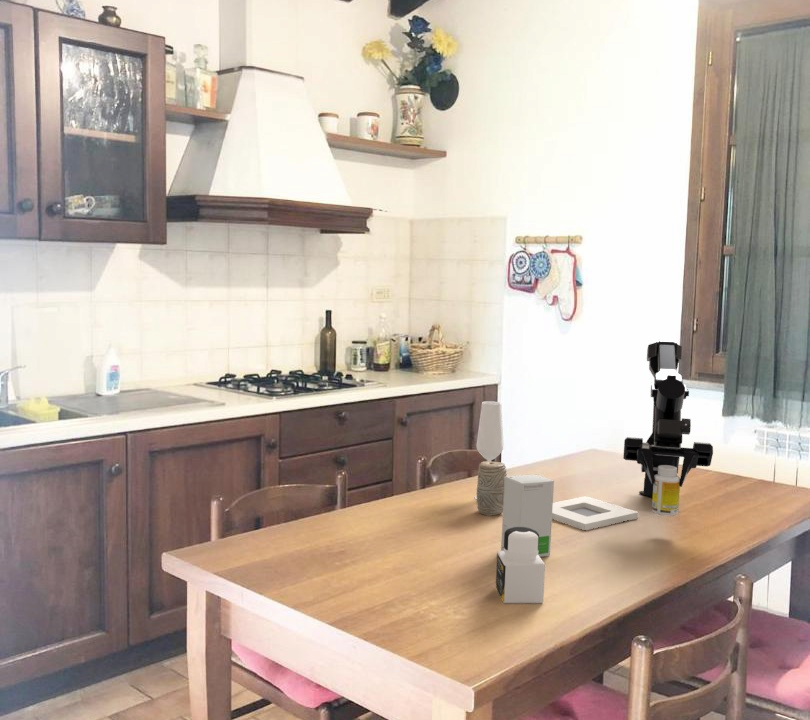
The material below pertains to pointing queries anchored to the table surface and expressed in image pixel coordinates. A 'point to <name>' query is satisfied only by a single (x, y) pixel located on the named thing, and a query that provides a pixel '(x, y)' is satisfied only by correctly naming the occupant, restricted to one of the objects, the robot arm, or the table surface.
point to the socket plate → (590, 513)
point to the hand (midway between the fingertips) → (666, 484)
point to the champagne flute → (490, 431)
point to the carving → (491, 487)
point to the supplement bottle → (666, 491)
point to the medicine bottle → (520, 567)
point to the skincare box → (529, 507)
